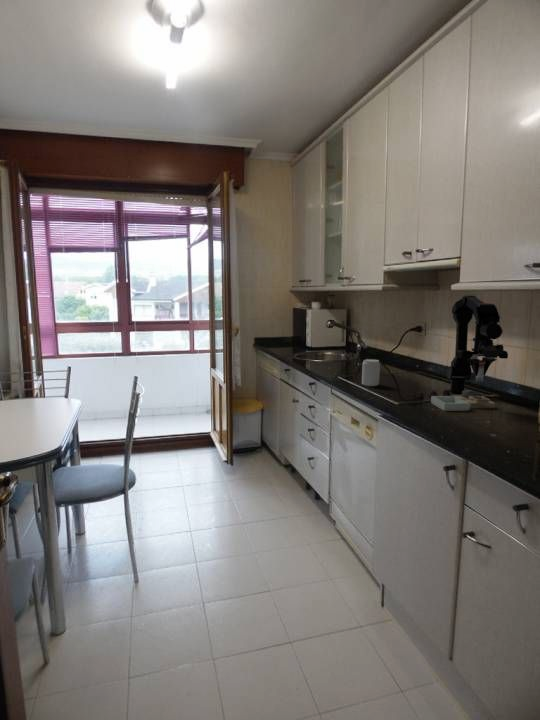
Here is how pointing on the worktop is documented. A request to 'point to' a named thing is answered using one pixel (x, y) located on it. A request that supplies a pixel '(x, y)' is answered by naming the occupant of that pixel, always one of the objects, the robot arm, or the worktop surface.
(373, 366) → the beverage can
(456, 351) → the robot arm
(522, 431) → the worktop surface
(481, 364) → the lock pin
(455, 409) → the tray
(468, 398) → the block
